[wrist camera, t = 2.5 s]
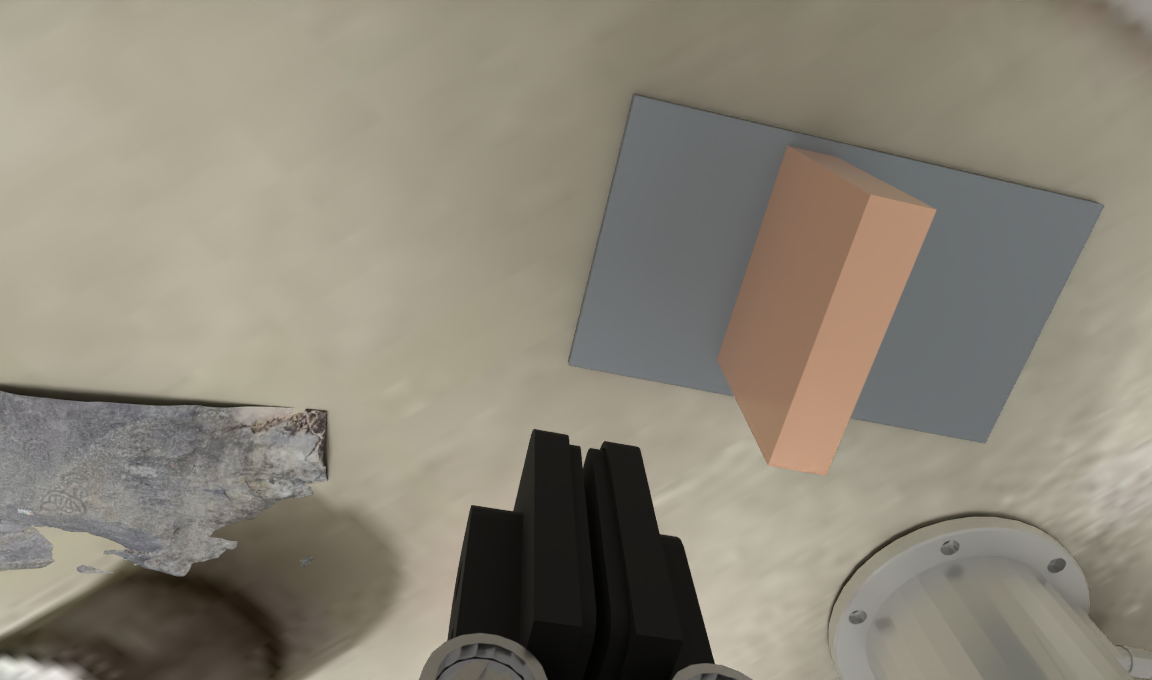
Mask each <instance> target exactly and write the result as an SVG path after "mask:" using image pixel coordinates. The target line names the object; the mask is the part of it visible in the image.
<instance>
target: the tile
mask: <svg viewBox="0 0 1152 680" xmlns="http://www.w3.org/2000/svg"><path fill="white" fill-rule="evenodd" d="M936 210H937V209H935V208H933V207H931V206H929V205H927V204H925V203H923V202H922V201H920V200H918V199H916V198H914V197H912V196H910V195H908V194H906V193H904V192H903V191H901V190H899V189H897V188H895V187H893V186H891V185H889V184H887V183H886V182H884V181H882V180H880V179H878V178H876V177H874V176H872V175H870V174H868V173H867V172H865V171H863V170H861V169H859V168H857V167H855V166H853V165H851V164H850V163H848V162H846V161H844V160H842V159H840V158H838V157H835V156H831V155H826V154H822V153H818V152H813V151H809V150H805V149H800V148H796V147H792V146H787V148H786V151H785V154H784V157H783V160H782V163H781V166H780V169H779V172H778V175H777V178H776V181H775V184H774V187H773V190H772V193H771V196H770V199H769V202H768V206H767V209H766V212H765V215H764V218H763V221H762V224H761V227H760V230H759V233H758V236H757V239H756V242H755V245H754V248H753V251H752V254H751V257H750V260H749V264H748V267H747V270H746V273H745V276H744V279H743V282H742V285H741V288H740V291H739V294H738V297H737V300H736V303H735V306H734V309H733V312H732V315H731V318H730V322H729V325H728V328H727V331H726V334H725V337H724V340H723V343H722V346H721V349H720V352H719V355H718V358H717V361H718V363H719V365H720V367H721V369H722V371H723V373H724V375H725V378H726V380H727V382H728V384H729V386H730V388H731V390H732V392H733V394H734V396H735V398H736V400H737V402H738V404H739V406H740V408H741V411H742V413H743V415H744V417H745V419H746V421H747V423H748V425H749V427H750V429H751V431H752V433H753V435H754V437H755V439H756V441H757V444H758V446H759V448H760V450H761V452H762V454H763V456H764V458H765V460H766V462H767V464H768V465H769V466H774V467H780V468H786V469H791V470H797V471H803V472H808V473H814V474H820V475H825V476H826V475H827V472H828V470H829V468H830V465H831V463H832V460H833V458H834V456H835V453H836V451H837V448H838V446H839V443H840V441H841V439H842V436H843V434H844V431H845V429H846V427H847V424H848V422H849V419H850V417H851V415H852V412H853V410H854V407H855V405H856V403H857V400H858V398H859V395H860V393H861V391H862V388H863V386H864V383H865V381H866V379H867V376H868V374H869V371H870V369H871V367H872V364H873V362H874V359H875V357H876V355H877V352H878V350H879V347H880V345H881V343H882V340H883V338H884V335H885V333H886V330H887V328H888V326H889V323H890V321H891V318H892V316H893V314H894V311H895V309H896V306H897V304H898V302H899V299H900V297H901V294H902V292H903V290H904V287H905V285H906V282H907V280H908V278H909V275H910V273H911V270H912V268H913V266H914V263H915V261H916V258H917V256H918V254H919V251H920V249H921V246H922V244H923V242H924V239H925V237H926V234H927V232H928V230H929V227H930V225H931V222H932V220H933V217H934V215H935V213H936Z"/></svg>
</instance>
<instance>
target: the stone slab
mask: <svg viewBox="0 0 1152 680" xmlns="http://www.w3.org/2000/svg"><path fill="white" fill-rule="evenodd" d="M292 410H293V408H284V407H231V408H219V407H206V406H202V405H176V406H153V405H138V404H124V403H112V402H81V401H70V400H61V399H51V398H41V397H32V396H23V395H16V394H11V393H7V392H3V391H0V571H3V570H15V569H33V568H42V567H46V566H47V565H49V564H50V563H52V562H54V561H55V560H53V559H52V552H51V550H52V549H53V544H52V543H50V542H49V541H48V540H47V539H46V538H45V537H44V536H42V535H41V534H40V533H39V531H38V530H36V529H35V528H33V527H32V526H31V525H33V526H35V527H42V526H49V527H55V528H60V529H62V530H65V531H71V532H88V533H90V534H92V535H96V536H101V537H104V538H107V539H109V540H112V541H115V542H117V543H119V544H121V545H123V546H124V547H125V548H128V550H119V551H118V550H109V551H107V550H106V551H104V553H103V554H106V555H108V554H109V553H111V554H116V555H118V556H121V557H124V559H123V560H126V561H132V562H135V564H134V565H141V566H142V567H144V568H148V569H153V570H156V571H162V572H164V573H167V574H171V575H174V576H185V574H186V573H187V572H188V571H189V570H190V567H191V564H192V563H196V562H200V561H201V562H204V561H206V560H208V559H213V558H218V557H219V556H220V555H221V554H222V553H223V552H224V551H225V550H226V549H234V548H236V546H237V541H227V540H224V539H222V538H211V537H210V536H211V534H212V532H213V531H214V530H217V529H219V528H223V527H224V526H225V525H228V524H233V523H236V522H239V521H242V520H250V519H253V518H255V516H257V515H258V514H259V513H260V512H261V511H263V510H265V509H268V508H269V507H272V506H273V505H274V504H275V503H276V502H277V501H279V500H280V499H286V498H297V499H299V498H303V497H307V496H310V495H313V491H312V489H311V487H308V486H304V485H305V484H309V483H318V482H324V481H328V480H327V477H326V467H325V465H324V464H323V452H324V451H323V450H324V442H325V434H326V432H325V431H326V424H327V422H326V412H324V411H318V410H314V411H315V412H316V413H317V414H313V413H311V411H313V410H307V411H306V410H305V413H298V414H295V415H292V416H289V415H287V414H290V413H291V411H292ZM277 414H278V416H277V419H275V418H274V416H275V415H277ZM302 488H304V490H302ZM312 560H313V559H312V557H311V556H309V557H306V558H304V559H303V560H300V562H301V564H302V566H303V567H305V566H307V565H308V564H309V563H310V562H311V561H312ZM77 571H79V572H81V573H113V572H106V571H102V570H100V569H95V568H93V567H87V566H84V565H81V566H79V567H77Z"/></svg>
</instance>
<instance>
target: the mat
mask: <svg viewBox="0 0 1152 680" xmlns="http://www.w3.org/2000/svg"><path fill="white" fill-rule="evenodd" d="M787 146H792V147H796V148H800V149H805V150H809V151H813V152H818V153H822V154H826V155H831V156H835V157H838V158H840V159H842V160H844V161H846V162H848V163H850V164H851V165H853V166H855V167H857V168H859V169H861V170H863V171H865V172H867V173H868V174H870V175H872V176H874V177H876V178H878V179H880V180H882V181H884V182H886V183H887V184H889V185H891V186H893V187H895V188H897V189H899V190H901V191H903V192H904V193H906V194H908V195H910V196H912V197H914V198H916V199H918V200H920V201H922V202H923V203H925V204H927V205H929V206H931V207H933V208H935V209H937V210H936V213H935V215H934V217H933V220H932V222H931V225H930V227H929V230H928V232H927V234H926V237H925V239H924V242H923V244H922V246H921V249H920V251H919V254H918V256H917V258H916V261H915V263H914V266H913V268H912V270H911V273H910V275H909V278H908V280H907V282H906V285H905V287H904V290H903V292H902V294H901V297H900V299H899V302H898V304H897V306H896V309H895V311H894V314H893V316H892V318H891V321H890V323H889V326H888V328H887V330H886V333H885V335H884V338H883V340H882V343H881V345H880V347H879V350H878V352H877V355H876V357H875V359H874V362H873V364H872V367H871V369H870V371H869V374H868V376H867V379H866V381H865V383H864V386H863V388H862V391H861V393H860V395H859V398H858V400H857V403H856V405H855V407H854V410H853V412H852V415H851V417H850V418H852V419H858V420H863V421H868V422H874V423H879V424H884V425H890V426H895V427H900V428H906V429H911V430H916V431H922V432H927V433H932V434H938V435H943V436H948V437H954V438H959V439H964V440H970V441H975V442H980V443H986V441H987V439H988V437H989V435H990V433H991V431H992V429H993V427H994V425H995V423H996V421H997V419H998V417H999V415H1000V413H1001V411H1002V409H1003V407H1004V405H1005V403H1006V401H1007V399H1008V397H1009V395H1010V393H1011V391H1012V389H1013V387H1014V385H1015V383H1016V381H1017V379H1018V377H1019V375H1020V373H1021V371H1022V369H1023V367H1024V365H1025V363H1026V361H1027V359H1028V357H1029V355H1030V353H1031V351H1032V349H1033V347H1034V345H1035V343H1036V341H1037V339H1038V337H1039V335H1040V333H1041V331H1042V329H1043V327H1044V325H1045V323H1046V321H1047V319H1048V317H1049V315H1050V313H1051V311H1052V309H1053V307H1054V305H1055V303H1056V301H1057V299H1058V297H1059V295H1060V293H1061V291H1062V289H1063V287H1064V285H1065V283H1066V281H1067V279H1068V277H1069V275H1070V273H1071V271H1072V269H1073V267H1074V265H1075V263H1076V261H1077V259H1078V257H1079V255H1080V253H1081V251H1082V249H1083V247H1084V245H1085V243H1086V241H1087V239H1088V237H1089V235H1090V233H1091V231H1092V229H1093V227H1094V225H1095V223H1096V221H1097V219H1098V217H1099V215H1100V213H1101V211H1102V209H1103V207H1104V205H1102V204H1100V203H1097V202H1093V201H1089V200H1085V199H1080V198H1076V197H1072V196H1067V195H1063V194H1059V193H1055V192H1050V191H1046V190H1042V189H1038V188H1033V187H1029V186H1025V185H1020V184H1016V183H1012V182H1008V181H1003V180H999V179H995V178H991V177H986V176H982V175H978V174H974V173H969V172H965V171H961V170H956V169H952V168H948V167H944V166H939V165H935V164H931V163H927V162H922V161H918V160H914V159H909V158H905V157H901V156H897V155H892V154H888V153H884V152H880V151H875V150H871V149H867V148H863V147H858V146H854V145H850V144H845V143H841V142H837V141H833V140H828V139H824V138H820V137H816V136H811V135H807V134H803V133H798V132H794V131H790V130H786V129H781V128H777V127H773V126H769V125H764V124H760V123H756V122H752V121H747V120H743V119H739V118H734V117H730V116H726V115H722V114H717V113H713V112H709V111H705V110H700V109H696V108H692V107H688V106H683V105H679V104H675V103H670V102H666V101H662V100H658V99H653V98H649V97H645V96H641V95H636V94H633V98H632V102H631V106H630V110H629V114H628V118H627V122H626V126H625V131H624V135H623V139H622V143H621V147H620V151H619V155H618V159H617V163H616V167H615V171H614V176H613V180H612V184H611V188H610V192H609V196H608V200H607V204H606V208H605V212H604V216H603V221H602V225H601V229H600V233H599V237H598V241H597V245H596V249H595V253H594V257H593V262H592V266H591V270H590V274H589V278H588V282H587V286H586V290H585V294H584V298H583V302H582V307H581V311H580V315H579V319H578V323H577V327H576V331H575V335H574V339H573V343H572V347H571V352H570V356H569V360H568V362H569V366H575V367H580V368H585V369H591V370H596V371H601V372H607V373H612V374H617V375H623V376H628V377H633V378H639V379H644V380H649V381H655V382H660V383H665V384H671V385H676V386H681V387H687V388H692V389H697V390H703V391H708V392H713V393H719V394H724V395H730V396H734V394H733V392H732V390H731V388H730V386H729V384H728V382H727V380H726V378H725V375H724V373H723V371H722V369H721V367H720V365H719V363H718V361H717V358H718V355H719V352H720V349H721V346H722V343H723V340H724V337H725V334H726V331H727V328H728V325H729V322H730V318H731V315H732V312H733V309H734V306H735V303H736V300H737V297H738V294H739V291H740V288H741V285H742V282H743V279H744V276H745V273H746V270H747V267H748V264H749V260H750V257H751V254H752V251H753V248H754V245H755V242H756V239H757V236H758V233H759V230H760V227H761V224H762V221H763V218H764V215H765V212H766V209H767V206H768V202H769V199H770V196H771V193H772V190H773V187H774V184H775V181H776V178H777V175H778V172H779V169H780V166H781V163H782V160H783V157H784V154H785V151H786V148H787Z"/></svg>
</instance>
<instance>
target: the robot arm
mask: <svg viewBox="0 0 1152 680" xmlns="http://www.w3.org/2000/svg"><path fill="white" fill-rule="evenodd" d="M1089 610H1090V598H1089V588H1088V585H1087V582H1086V579H1085V576H1084V573H1083V571H1082V570H1081V568H1080V567H1079V565H1078V564H1077V562H1076V561H1075V560H1074V558H1073V557H1072V556H1071V555H1070V554H1069V553H1068V552H1067V551H1066V550H1065V549H1064V548H1063V547H1062V546H1061V545H1060V544H1059V543H1058V542H1057V541H1056V540H1055V539H1054V538H1052V537H1051V536H1049V535H1048V534H1046V533H1045V532H1043V531H1042V530H1040V529H1038V528H1036V527H1033V526H1031V525H1028V524H1025V523H1023V522H1020V521H1016V520H1010V519H1005V518H999V517H967V518H960V519H954V520H947V521H943V522H940V523H936V524H933V525H930V526H927V527H923V528H920V529H918V530H916V531H914V532H912V533H910V534H907V535H905V536H903V537H901V538H899V539H897V540H895V541H894V542H892V543H891V544H889V545H888V546H886V547H885V548H883V549H882V550H880V551H879V552H877V553H876V554H874V555H873V556H872V557H871V558H870V559H869V560H868V561H867V562H866V563H865V564H863V565H862V566H861V567H860V568H859V569H858V570H857V571H856V572H855V574H854V575H853V576H852V578H851V579H850V580H849V581H848V583H847V584H846V585H845V586H844V588H843V590H842V592H841V594H840V595H839V597H838V599H837V601H836V603H835V605H834V608H833V611H832V615H831V619H830V622H829V635H828V644H829V648H830V652H831V657H832V660H833V662H834V665H835V667H836V669H837V671H838V673H839V676H840V678H841V680H1134V679H1133V678H1132V677H1135V678H1142V679H1150V678H1151V677H1152V654H1151V653H1150V652H1149V651H1147V650H1146V649H1141V648H1135V647H1128V646H1119V645H1116V646H1114V645H1113V644H1112V643H1111V642H1110V641H1109V639H1108V638H1107V637H1106V636H1105V635H1104V634H1103V633H1102V632H1101V630H1100V629H1099V628H1098V627H1097V626H1096V625H1095V624H1094V623H1093V621H1092V620H1091V619H1090V618H1089V617H1088V615H1089ZM419 680H752V679H751V678H749V677H747V676H746V675H744V674H743V673H741V672H739V671H736V670H734V669H731V668H728V667H726V666H723V665H716V664H715V663H714V659H713V655H712V652H711V648H710V644H709V640H708V636H707V633H706V629H705V625H704V621H703V618H702V614H701V610H700V606H699V603H698V599H697V595H696V591H695V588H694V584H693V580H692V576H691V573H690V569H689V565H688V561H687V557H686V554H685V550H684V546H683V544H682V542H681V540H680V539H679V538H678V537H674V536H668V535H661V534H659V530H658V525H657V521H656V516H655V512H654V508H653V503H652V499H651V495H650V490H649V486H648V481H647V477H646V473H645V468H644V464H643V459H642V455H641V451H640V448H639V447H636V446H630V445H624V444H618V443H612V442H606V441H604V442H603V444H602V446H601V448H600V450H599V449H593V448H590V449H589V450H588V452H587V456H586V459H585V463H584V466H583V467H582V457H581V448H580V446H575V445H569V436H568V435H565V434H559V433H553V432H547V431H542V430H536V429H534V430H533V431H532V434H531V438H530V442H529V446H528V450H527V455H526V459H525V463H524V468H523V472H522V476H521V480H520V485H519V489H518V493H517V498H516V502H515V506H514V511H506V510H500V509H494V508H487V507H481V506H474V505H472V506H471V508H470V512H469V517H468V522H467V526H466V531H465V536H464V541H463V546H462V551H461V556H460V562H459V567H458V573H457V578H456V584H455V591H454V597H453V604H452V611H451V618H450V625H449V633H448V640H447V641H446V642H444V643H443V644H442V645H441V646H440V647H438V648H437V649H436V650H435V651H433V652H432V654H431V655H430V657H429V659H428V660H427V662H426V664H425V665H424V667H423V670H422V673H421V676H420V678H419Z"/></svg>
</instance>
